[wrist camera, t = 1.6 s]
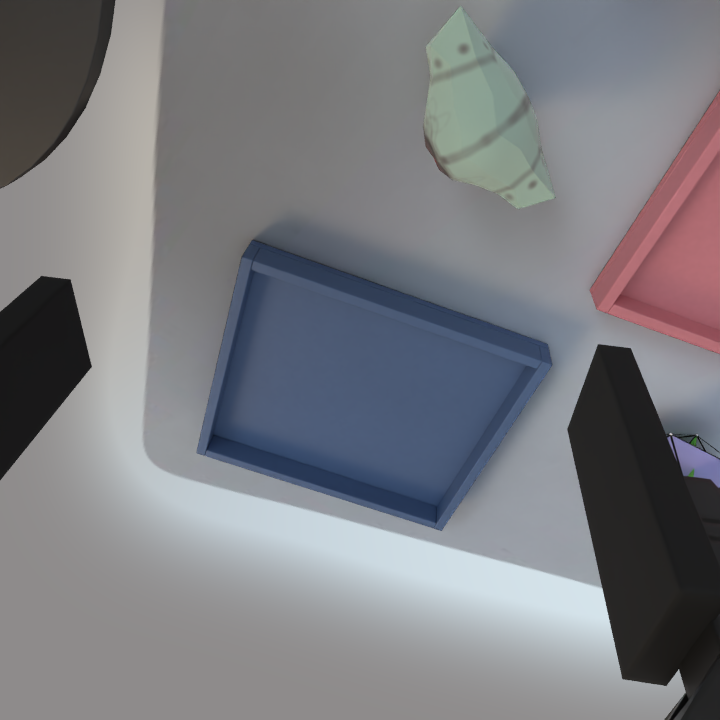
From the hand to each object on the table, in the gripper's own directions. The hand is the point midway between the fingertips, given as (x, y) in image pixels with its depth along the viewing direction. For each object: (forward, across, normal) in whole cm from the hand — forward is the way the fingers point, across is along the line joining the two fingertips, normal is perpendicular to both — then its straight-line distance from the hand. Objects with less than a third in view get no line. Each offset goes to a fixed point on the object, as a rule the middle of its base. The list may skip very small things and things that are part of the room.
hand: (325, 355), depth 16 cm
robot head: (+17, +4, +3) cm, 18 cm away
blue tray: (+17, 0, -15) cm, 22 cm away
